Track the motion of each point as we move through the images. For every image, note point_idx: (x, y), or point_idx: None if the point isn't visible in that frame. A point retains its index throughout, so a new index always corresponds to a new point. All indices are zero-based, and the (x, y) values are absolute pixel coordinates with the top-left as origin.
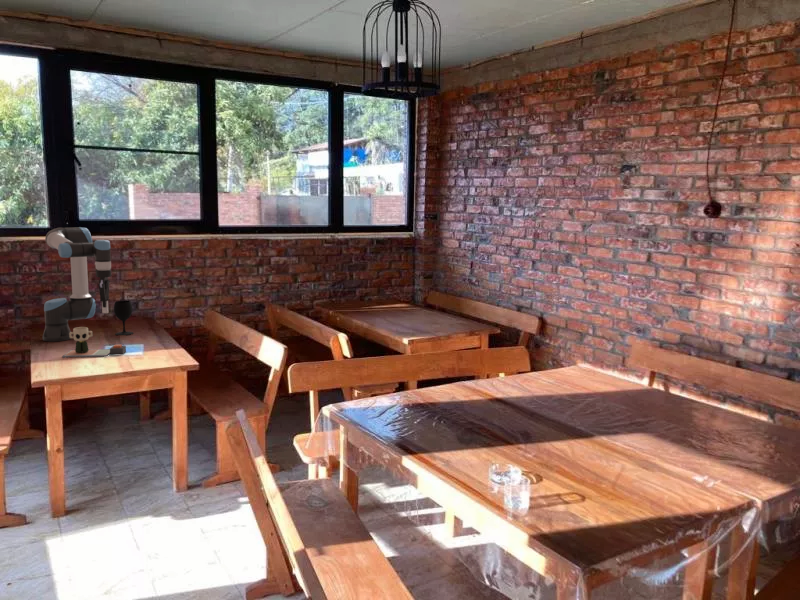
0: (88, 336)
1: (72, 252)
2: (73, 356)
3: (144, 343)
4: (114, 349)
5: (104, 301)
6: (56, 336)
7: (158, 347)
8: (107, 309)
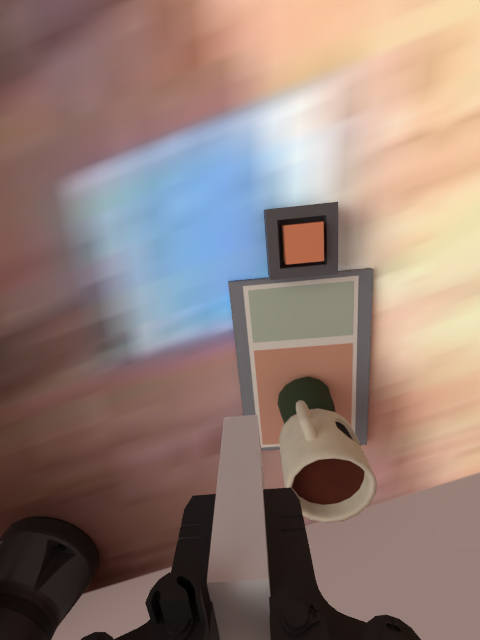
0: (312, 416)
1: None
2: (367, 405)
3: (52, 180)
4: (336, 248)
5: (325, 609)
6: (81, 562)
7: (140, 43)
8: (259, 447)
